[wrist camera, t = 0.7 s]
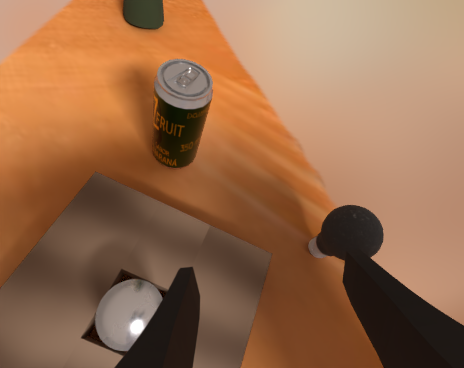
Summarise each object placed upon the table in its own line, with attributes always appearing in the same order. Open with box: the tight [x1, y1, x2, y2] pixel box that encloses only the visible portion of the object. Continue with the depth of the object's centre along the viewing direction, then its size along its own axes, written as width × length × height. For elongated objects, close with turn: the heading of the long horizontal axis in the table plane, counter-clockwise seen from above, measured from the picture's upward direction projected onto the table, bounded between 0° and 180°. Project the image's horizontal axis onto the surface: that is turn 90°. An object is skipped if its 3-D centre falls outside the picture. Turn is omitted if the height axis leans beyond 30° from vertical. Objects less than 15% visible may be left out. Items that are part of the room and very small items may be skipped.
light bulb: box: [308, 205, 383, 260], centre depth 28 cm, size 6×6×10 cm
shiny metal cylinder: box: [95, 279, 163, 351], centre depth 21 cm, size 4×4×7 cm
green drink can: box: [153, 59, 213, 169], centre depth 28 cm, size 5×5×12 cm
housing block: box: [0, 172, 272, 368], centre depth 23 cm, size 20×20×3 cm
